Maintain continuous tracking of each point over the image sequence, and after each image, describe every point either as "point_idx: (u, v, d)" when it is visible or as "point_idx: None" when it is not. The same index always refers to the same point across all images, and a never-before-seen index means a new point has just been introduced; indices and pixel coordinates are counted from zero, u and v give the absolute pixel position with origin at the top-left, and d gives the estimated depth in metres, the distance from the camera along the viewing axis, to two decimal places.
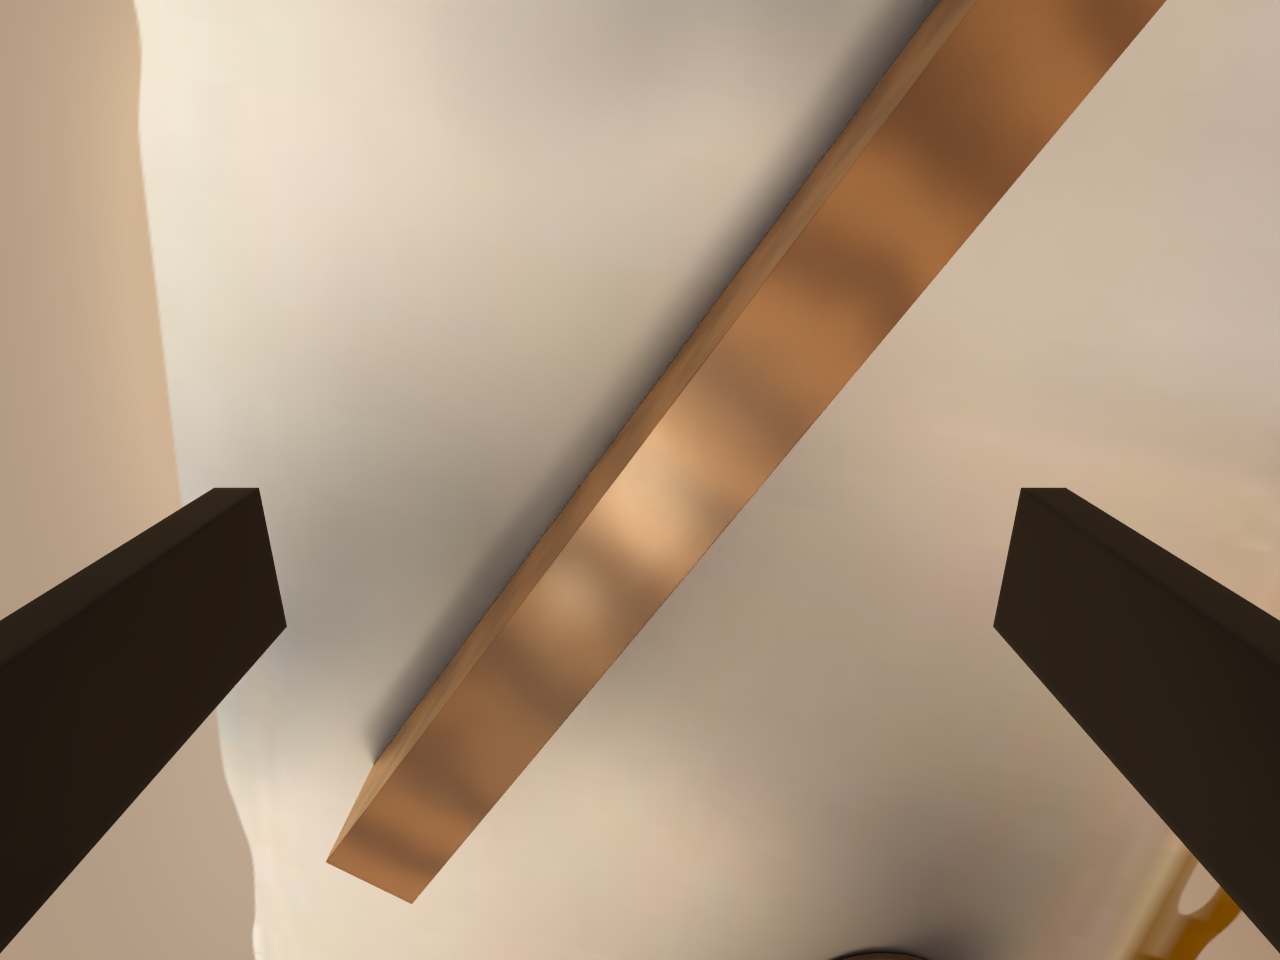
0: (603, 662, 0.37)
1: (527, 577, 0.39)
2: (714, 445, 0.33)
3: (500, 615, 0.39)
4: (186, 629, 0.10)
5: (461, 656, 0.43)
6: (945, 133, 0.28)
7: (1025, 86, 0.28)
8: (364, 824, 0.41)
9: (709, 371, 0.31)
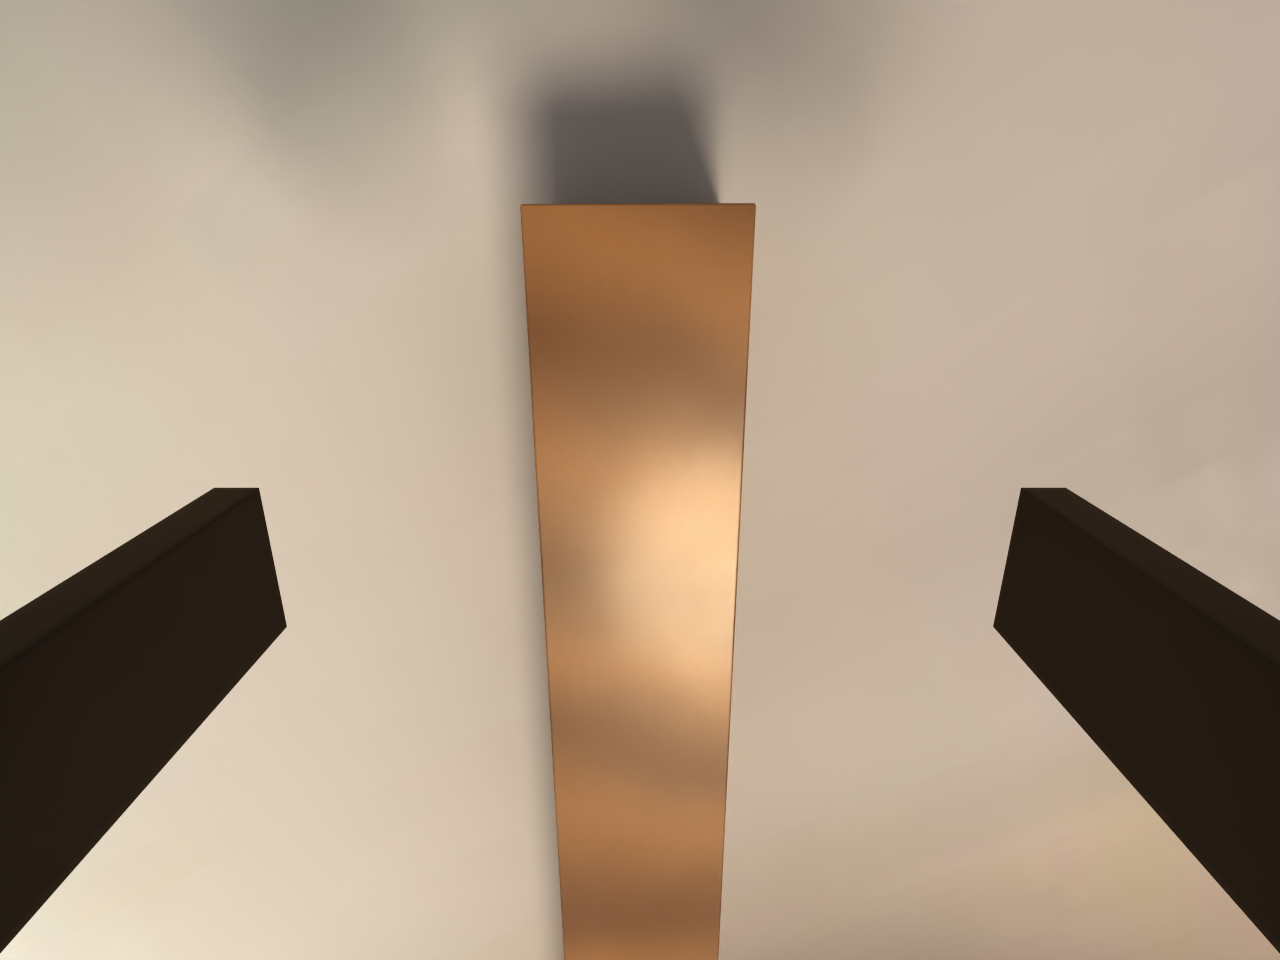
0: None
1: None
2: None
3: None
4: (186, 629, 0.10)
5: None
6: (623, 911, 0.26)
7: (661, 849, 0.25)
8: None
9: None
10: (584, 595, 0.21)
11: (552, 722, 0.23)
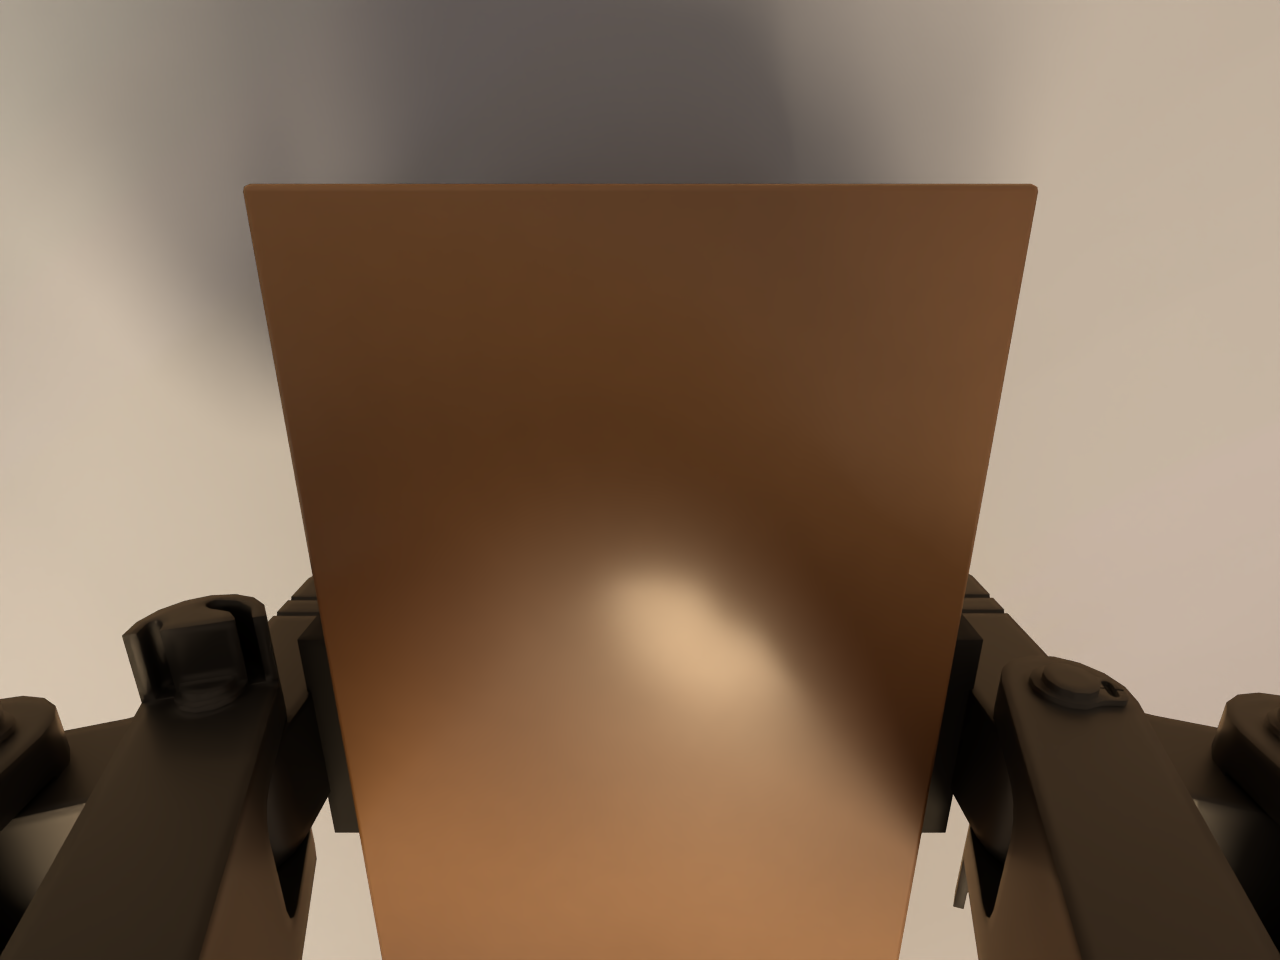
0: None
1: None
2: None
3: None
4: None
5: None
6: None
7: None
8: None
9: None
10: None
11: None
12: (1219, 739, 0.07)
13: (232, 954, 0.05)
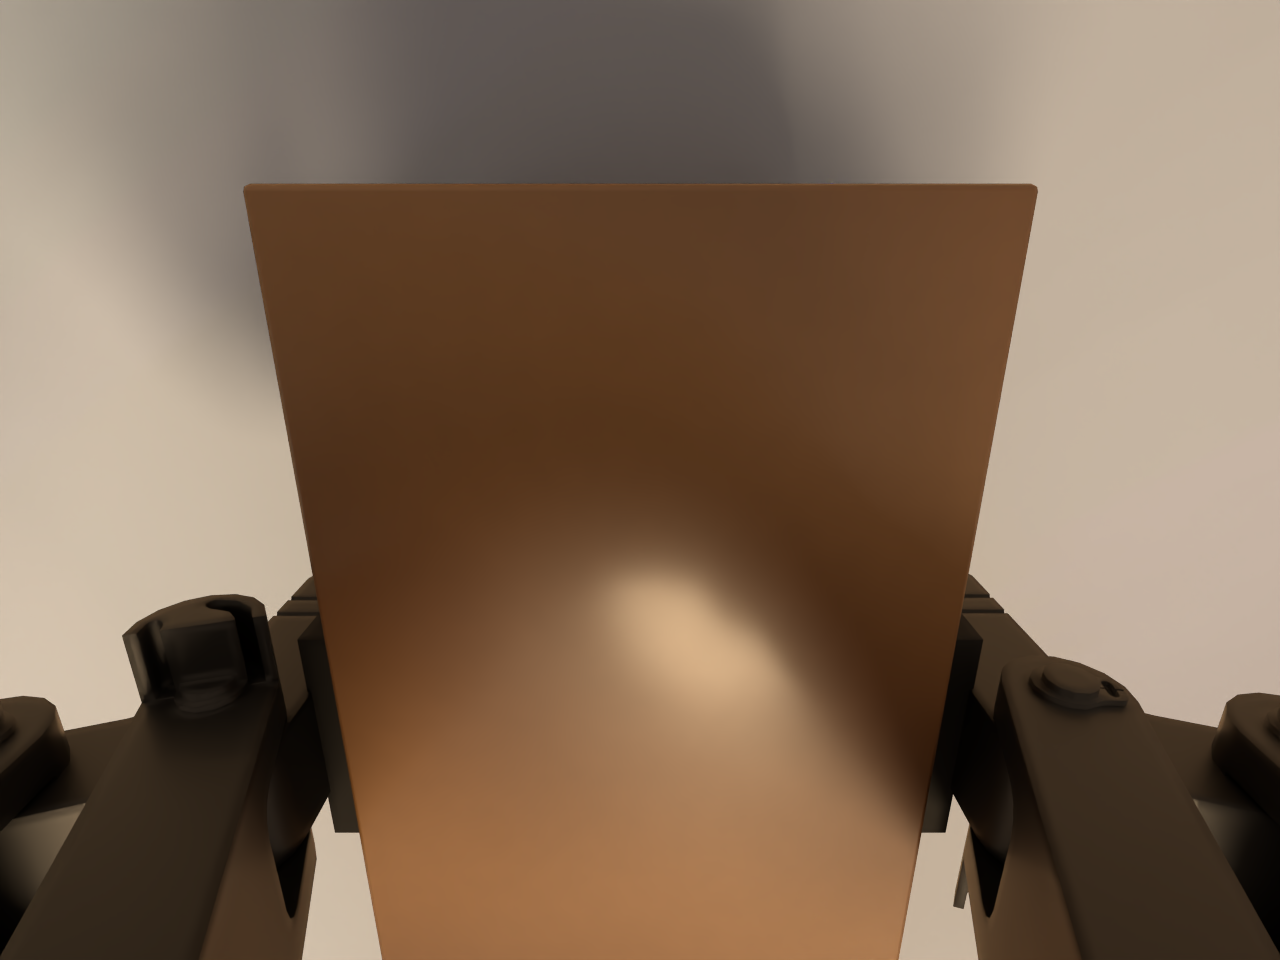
0: None
1: None
2: None
3: None
4: None
5: None
6: None
7: None
8: None
9: None
10: None
11: None
12: (1219, 739, 0.07)
13: (232, 954, 0.05)
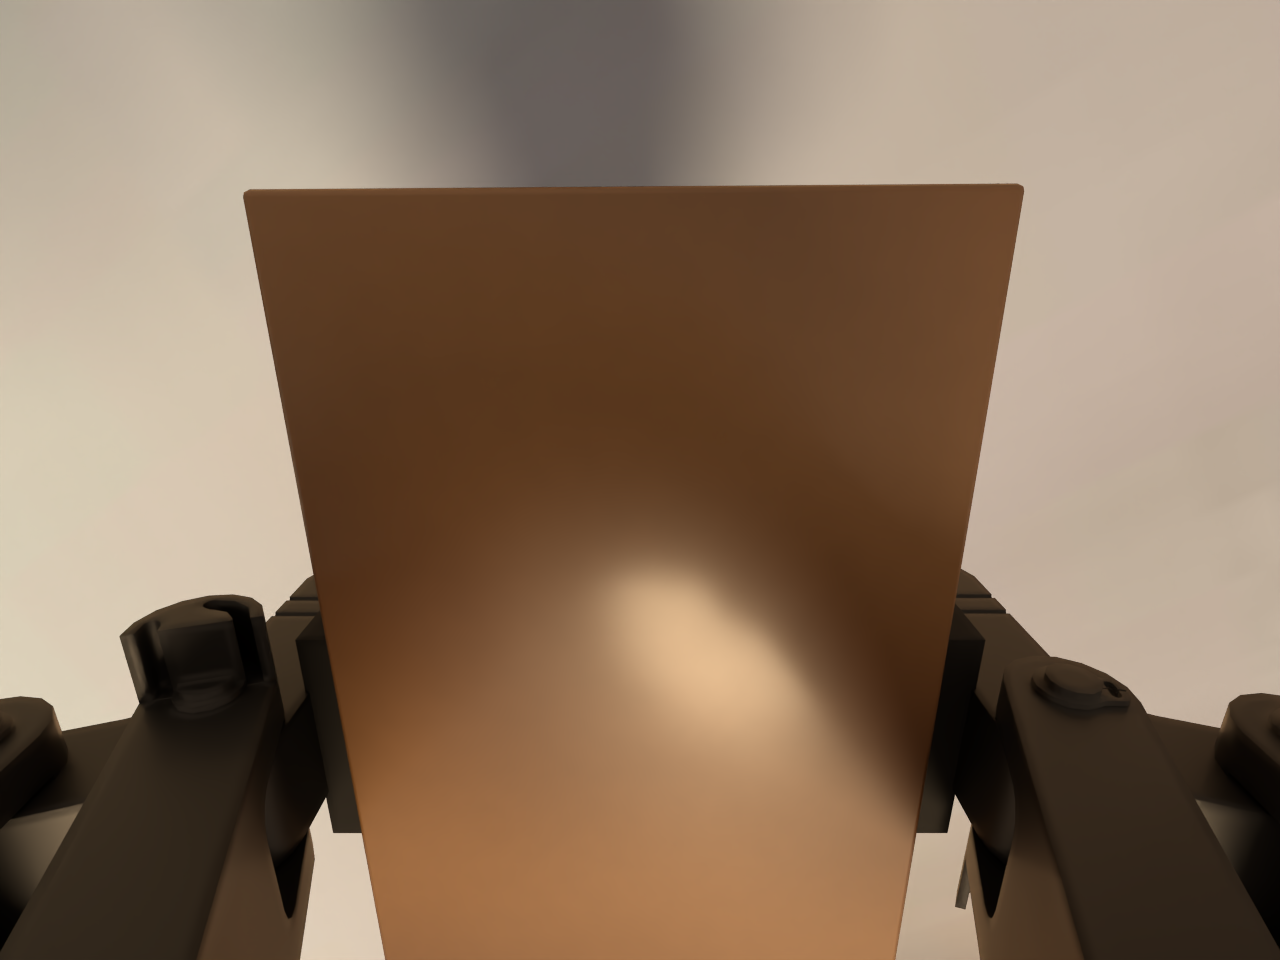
0: None
1: None
2: None
3: None
4: None
5: None
6: None
7: None
8: None
9: None
10: None
11: None
12: (1221, 740, 0.07)
13: (230, 954, 0.05)
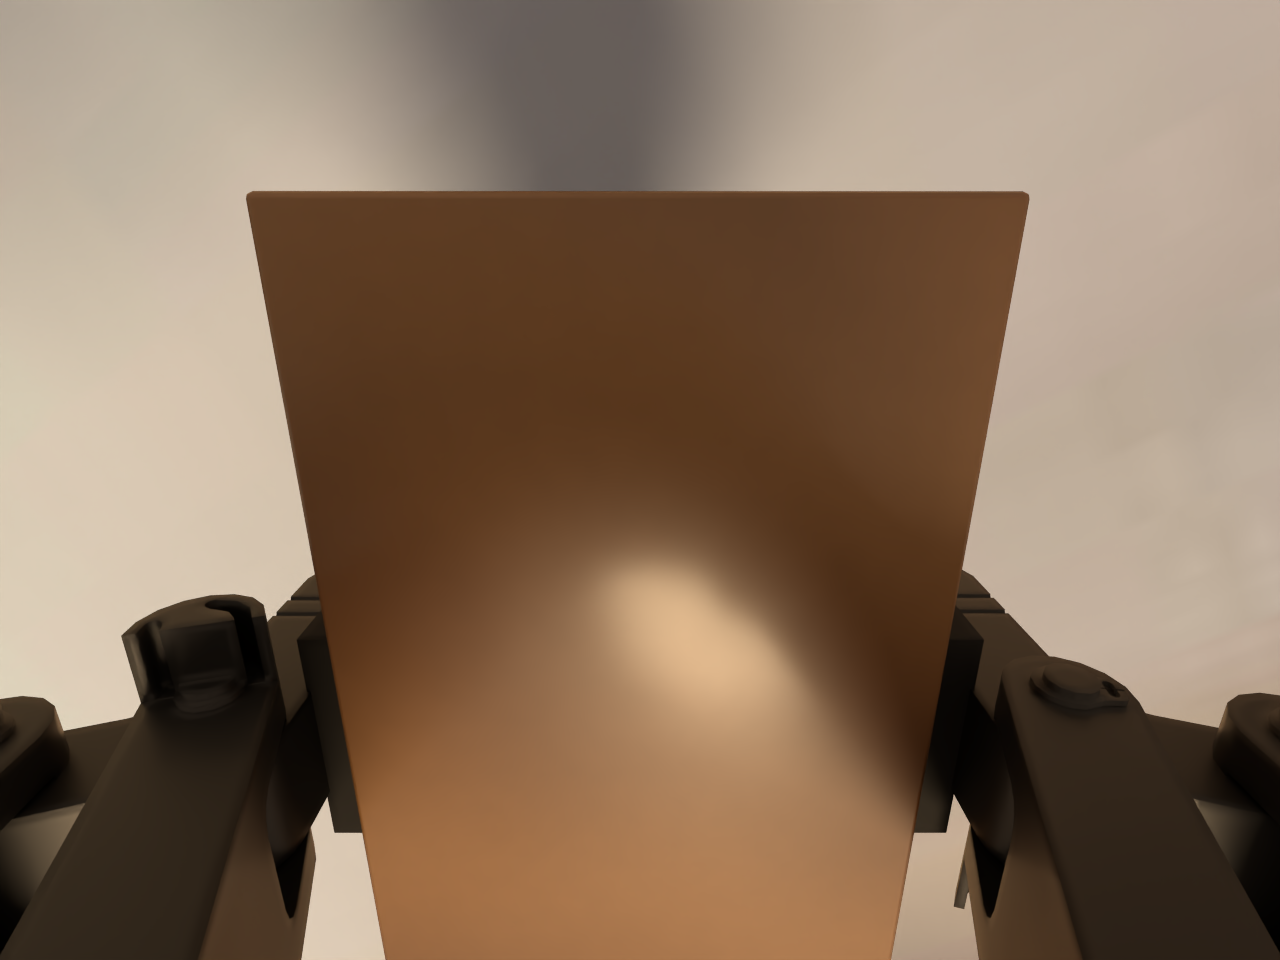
0: None
1: None
2: None
3: None
4: None
5: None
6: None
7: None
8: None
9: None
10: None
11: None
12: (1220, 739, 0.07)
13: (231, 954, 0.05)
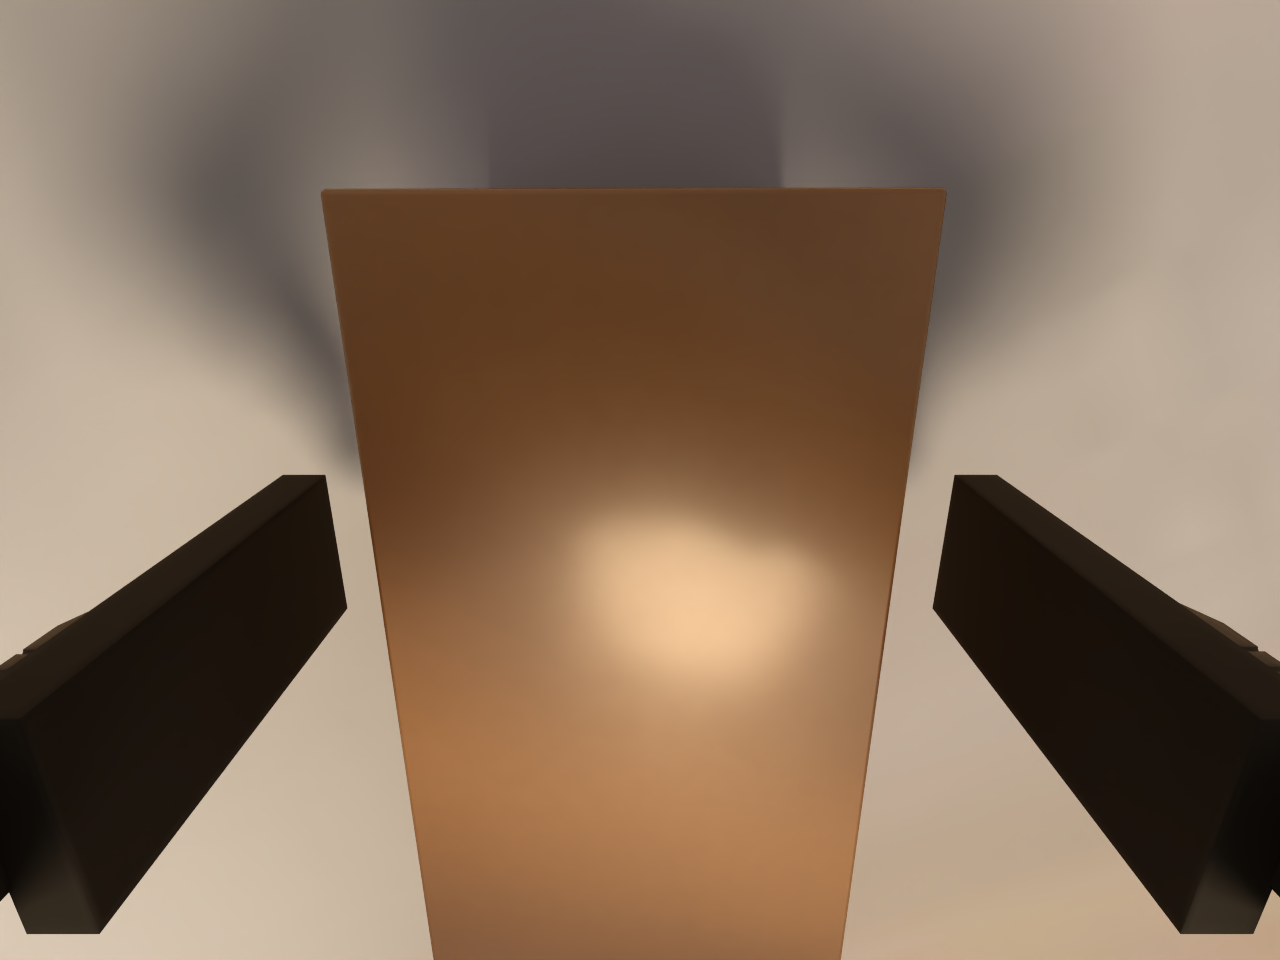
0: None
1: None
2: None
3: None
4: (268, 606, 0.11)
5: None
6: None
7: None
8: None
9: None
10: None
11: None
12: None
13: None
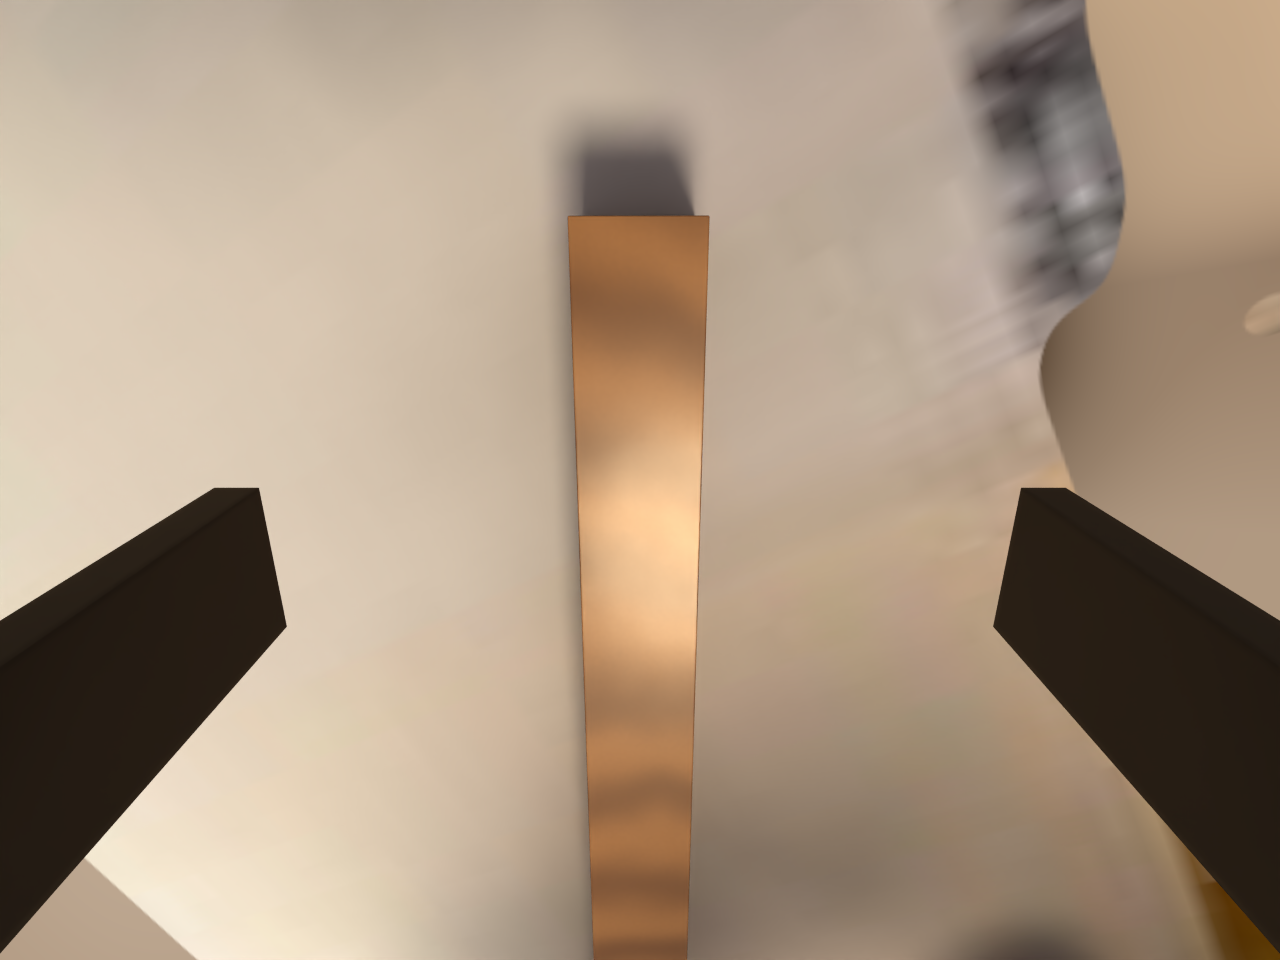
0: None
1: None
2: (638, 917, 0.43)
3: None
4: (186, 629, 0.10)
5: None
6: (627, 702, 0.37)
7: (653, 653, 0.36)
8: None
9: (598, 885, 0.42)
10: (603, 468, 0.33)
11: (581, 558, 0.34)
12: None
13: None
